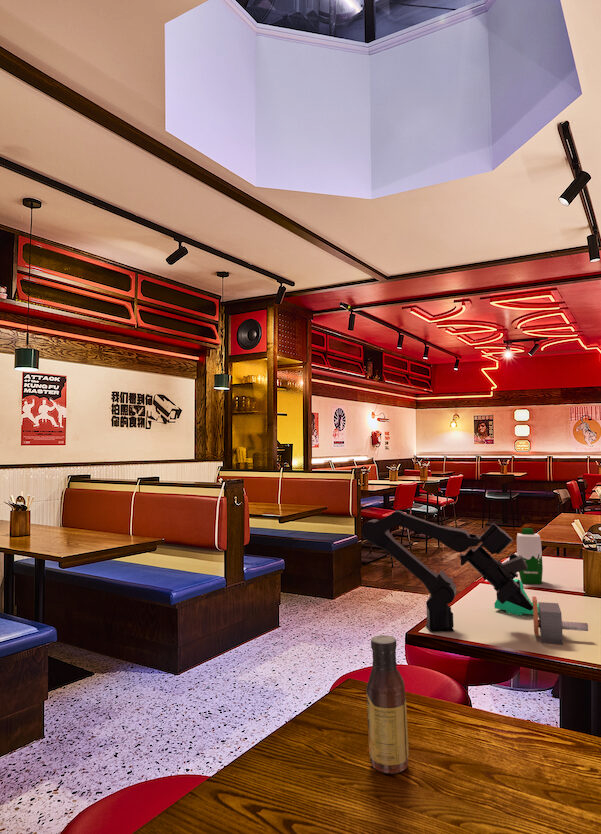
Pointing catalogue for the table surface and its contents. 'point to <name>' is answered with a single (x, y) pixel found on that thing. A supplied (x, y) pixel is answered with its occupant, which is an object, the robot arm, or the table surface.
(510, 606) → the camera mount
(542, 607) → the block
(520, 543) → the milk carton
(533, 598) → the lock pin
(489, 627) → the table surface
